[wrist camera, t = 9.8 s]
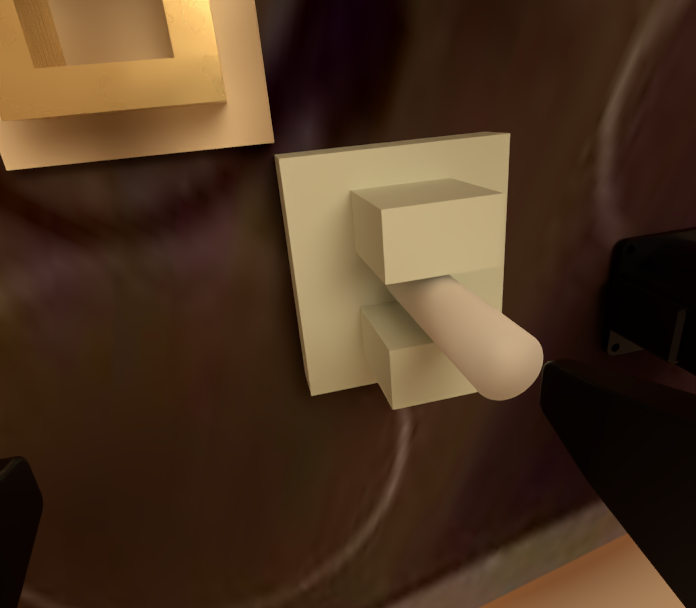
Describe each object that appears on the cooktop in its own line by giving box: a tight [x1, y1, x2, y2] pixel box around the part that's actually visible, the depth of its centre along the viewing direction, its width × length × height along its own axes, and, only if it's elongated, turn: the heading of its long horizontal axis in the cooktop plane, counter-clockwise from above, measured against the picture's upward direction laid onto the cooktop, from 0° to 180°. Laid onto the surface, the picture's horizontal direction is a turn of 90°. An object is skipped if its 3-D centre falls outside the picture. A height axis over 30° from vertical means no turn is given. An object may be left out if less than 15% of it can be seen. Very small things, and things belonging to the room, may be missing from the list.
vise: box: [274, 132, 543, 410], centre depth 17 cm, size 9×10×10 cm
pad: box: [0, 0, 274, 171], centre depth 15 cm, size 9×9×1 cm
